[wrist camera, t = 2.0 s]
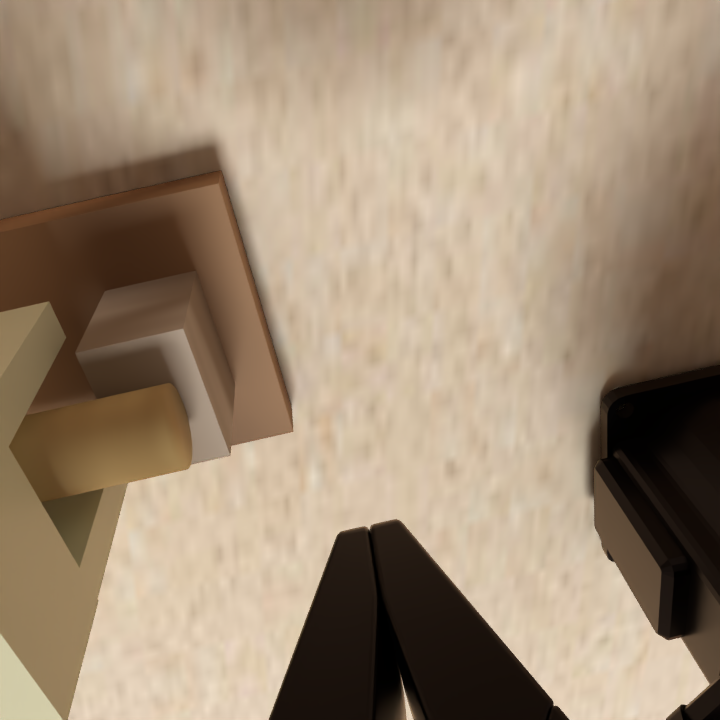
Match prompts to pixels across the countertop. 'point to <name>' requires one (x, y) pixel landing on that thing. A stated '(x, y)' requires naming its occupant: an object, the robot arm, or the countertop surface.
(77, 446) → the cable stand
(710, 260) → the countertop surface
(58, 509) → the cream block
